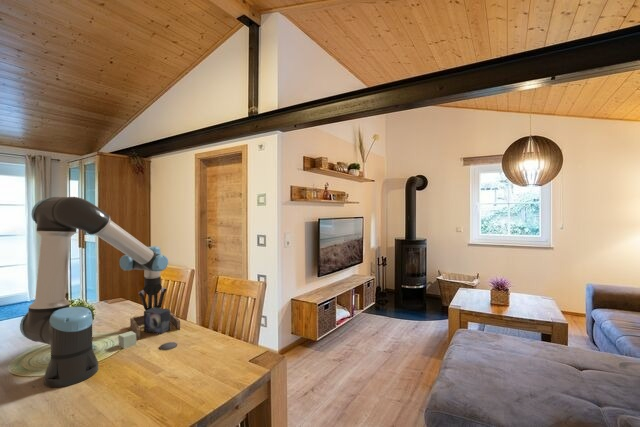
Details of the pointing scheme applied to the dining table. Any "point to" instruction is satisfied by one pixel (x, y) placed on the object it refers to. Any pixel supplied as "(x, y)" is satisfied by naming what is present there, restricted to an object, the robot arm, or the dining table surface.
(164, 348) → the coaster
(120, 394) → the dining table surface
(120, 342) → the sage cube
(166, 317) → the small box
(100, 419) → the dining table surface
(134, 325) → the brown u-shaped wall
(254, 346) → the dining table surface
